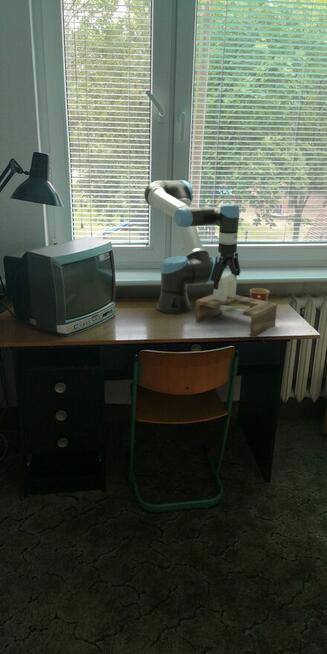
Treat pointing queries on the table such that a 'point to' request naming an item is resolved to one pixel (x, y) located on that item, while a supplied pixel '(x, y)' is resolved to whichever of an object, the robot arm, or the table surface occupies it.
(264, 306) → the shelf
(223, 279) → the white plastic block
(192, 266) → the robot arm
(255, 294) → the mug
